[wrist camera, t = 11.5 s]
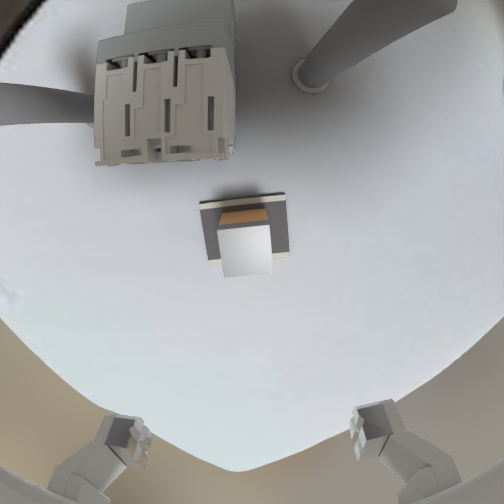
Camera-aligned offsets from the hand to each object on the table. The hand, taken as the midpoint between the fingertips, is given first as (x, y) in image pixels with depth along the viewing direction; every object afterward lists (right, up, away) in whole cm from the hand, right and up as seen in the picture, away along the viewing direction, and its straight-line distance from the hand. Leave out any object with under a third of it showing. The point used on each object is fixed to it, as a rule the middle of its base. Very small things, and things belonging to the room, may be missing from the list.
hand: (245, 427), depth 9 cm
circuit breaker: (-5, +23, +17) cm, 29 cm away
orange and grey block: (0, +9, +22) cm, 24 cm away
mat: (0, +9, +22) cm, 24 cm away
